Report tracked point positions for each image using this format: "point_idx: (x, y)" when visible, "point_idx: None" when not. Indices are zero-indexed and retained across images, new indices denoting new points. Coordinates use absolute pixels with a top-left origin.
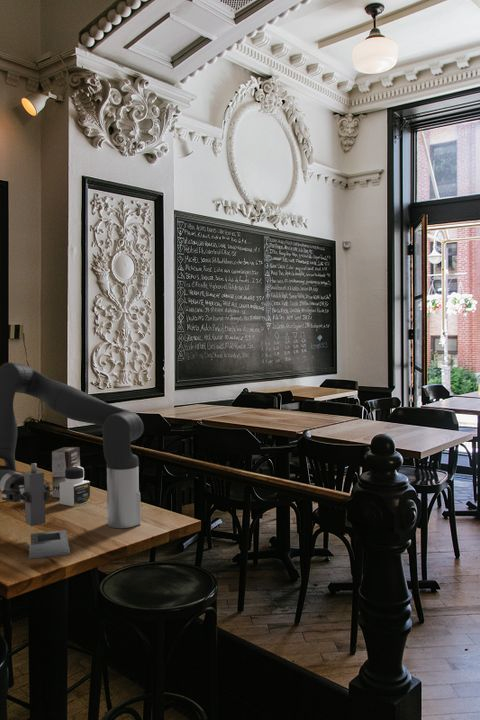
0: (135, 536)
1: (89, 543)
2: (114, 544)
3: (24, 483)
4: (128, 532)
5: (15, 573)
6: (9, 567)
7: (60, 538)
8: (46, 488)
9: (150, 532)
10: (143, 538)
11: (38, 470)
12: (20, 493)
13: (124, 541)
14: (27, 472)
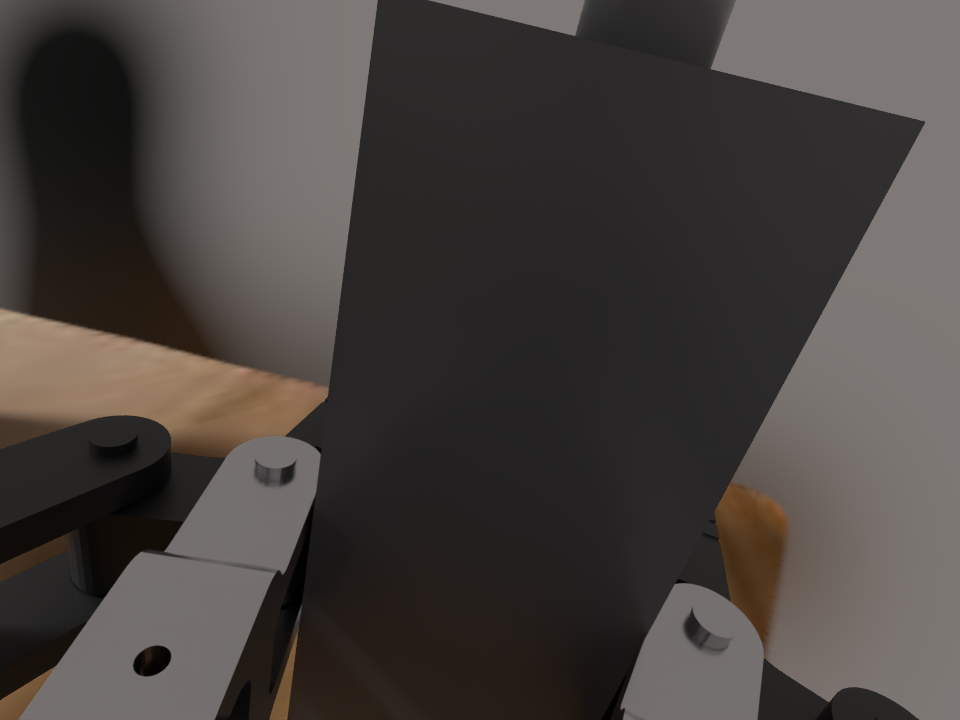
0: (117, 372)
1: None
2: (261, 399)
3: (733, 475)
4: (41, 407)
5: (745, 537)
6: (759, 603)
7: None
8: (167, 462)
9: (37, 347)
10: (144, 349)
11: (426, 4)
12: (752, 665)
13: (206, 384)
14: (799, 99)
